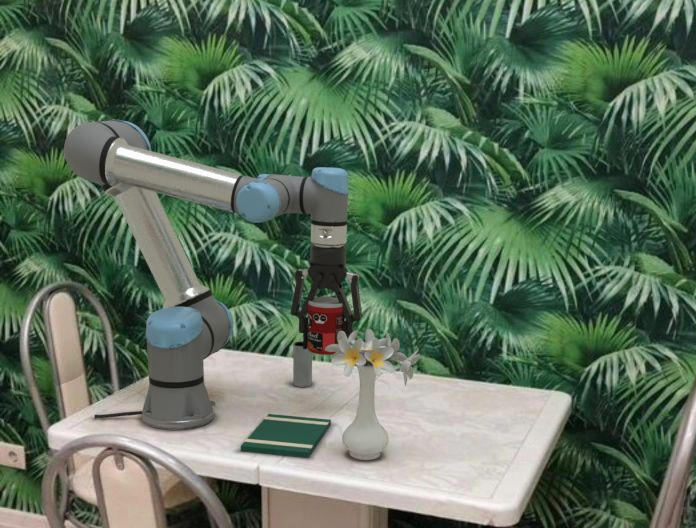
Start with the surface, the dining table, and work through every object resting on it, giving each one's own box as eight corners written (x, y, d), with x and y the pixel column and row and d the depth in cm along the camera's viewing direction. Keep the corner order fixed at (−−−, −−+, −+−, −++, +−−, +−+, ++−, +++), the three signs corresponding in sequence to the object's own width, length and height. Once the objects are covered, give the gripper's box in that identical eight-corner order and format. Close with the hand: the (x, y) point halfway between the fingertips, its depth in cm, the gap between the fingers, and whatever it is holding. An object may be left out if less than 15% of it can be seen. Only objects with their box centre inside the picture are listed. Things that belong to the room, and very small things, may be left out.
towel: (240, 451, 191) (240, 445, 191) (268, 418, 210) (268, 413, 209) (308, 458, 189) (308, 451, 188) (330, 424, 207) (330, 419, 207)
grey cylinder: (304, 380, 236) (304, 340, 232) (315, 385, 233) (316, 344, 229) (289, 383, 233) (289, 343, 230) (300, 388, 230) (300, 347, 226)
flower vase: (411, 470, 185) (418, 344, 175) (317, 462, 187) (319, 338, 177) (416, 446, 197) (423, 327, 187) (328, 439, 199) (330, 322, 189)
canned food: (302, 346, 210) (303, 297, 206) (336, 344, 213) (338, 296, 209) (313, 356, 204) (314, 305, 200) (348, 354, 207) (350, 304, 202)
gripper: (275, 243, 198) (274, 349, 207) (373, 251, 195) (368, 358, 203) (285, 238, 205) (283, 340, 214) (380, 245, 202) (375, 349, 210)
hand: (325, 349), depth 208 cm, fingers closed on canned food, 8 cm apart
